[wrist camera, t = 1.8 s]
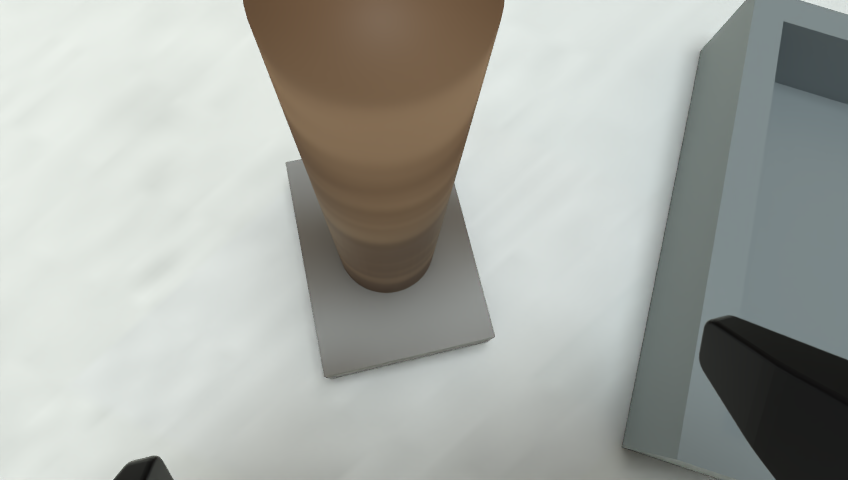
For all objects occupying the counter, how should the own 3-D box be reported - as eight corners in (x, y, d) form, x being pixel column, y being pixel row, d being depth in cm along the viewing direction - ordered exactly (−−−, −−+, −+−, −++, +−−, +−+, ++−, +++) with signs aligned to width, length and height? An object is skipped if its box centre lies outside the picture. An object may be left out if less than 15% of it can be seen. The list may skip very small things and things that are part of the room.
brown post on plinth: (485, 341, 21) (696, 222, 6) (330, 378, 20) (173, 339, 6) (437, 155, 23) (511, -256, 8) (294, 182, 22) (111, -214, 8)
